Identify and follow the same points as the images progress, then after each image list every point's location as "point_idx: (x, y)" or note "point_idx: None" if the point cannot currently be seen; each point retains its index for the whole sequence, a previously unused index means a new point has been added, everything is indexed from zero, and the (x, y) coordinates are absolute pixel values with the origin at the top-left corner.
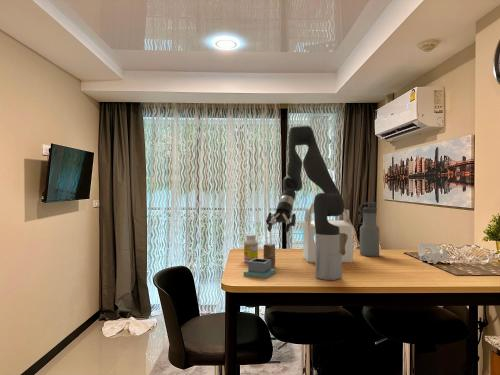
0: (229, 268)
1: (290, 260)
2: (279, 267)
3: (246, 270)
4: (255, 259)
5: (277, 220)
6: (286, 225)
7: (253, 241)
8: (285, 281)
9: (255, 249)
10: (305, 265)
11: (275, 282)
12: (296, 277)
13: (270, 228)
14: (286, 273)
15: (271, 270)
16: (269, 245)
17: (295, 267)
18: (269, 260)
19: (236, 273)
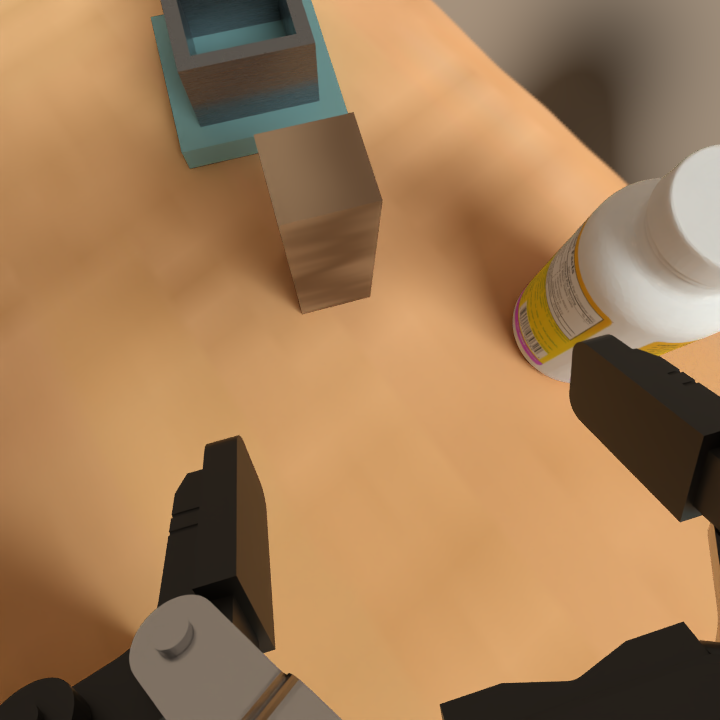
0: (503, 75)
1: (330, 604)
2: (253, 305)
3: (314, 16)
4: (291, 20)
5: (672, 645)
6: (224, 531)
7: (609, 216)
8: (32, 51)
9: (552, 275)
10: (111, 507)
11: (71, 7)
12: (12, 154)
13: (605, 401)
14: (117, 195)
15: (181, 105)
16: (283, 129)
17: (149, 385)
18: (172, 43)
19: (375, 18)
